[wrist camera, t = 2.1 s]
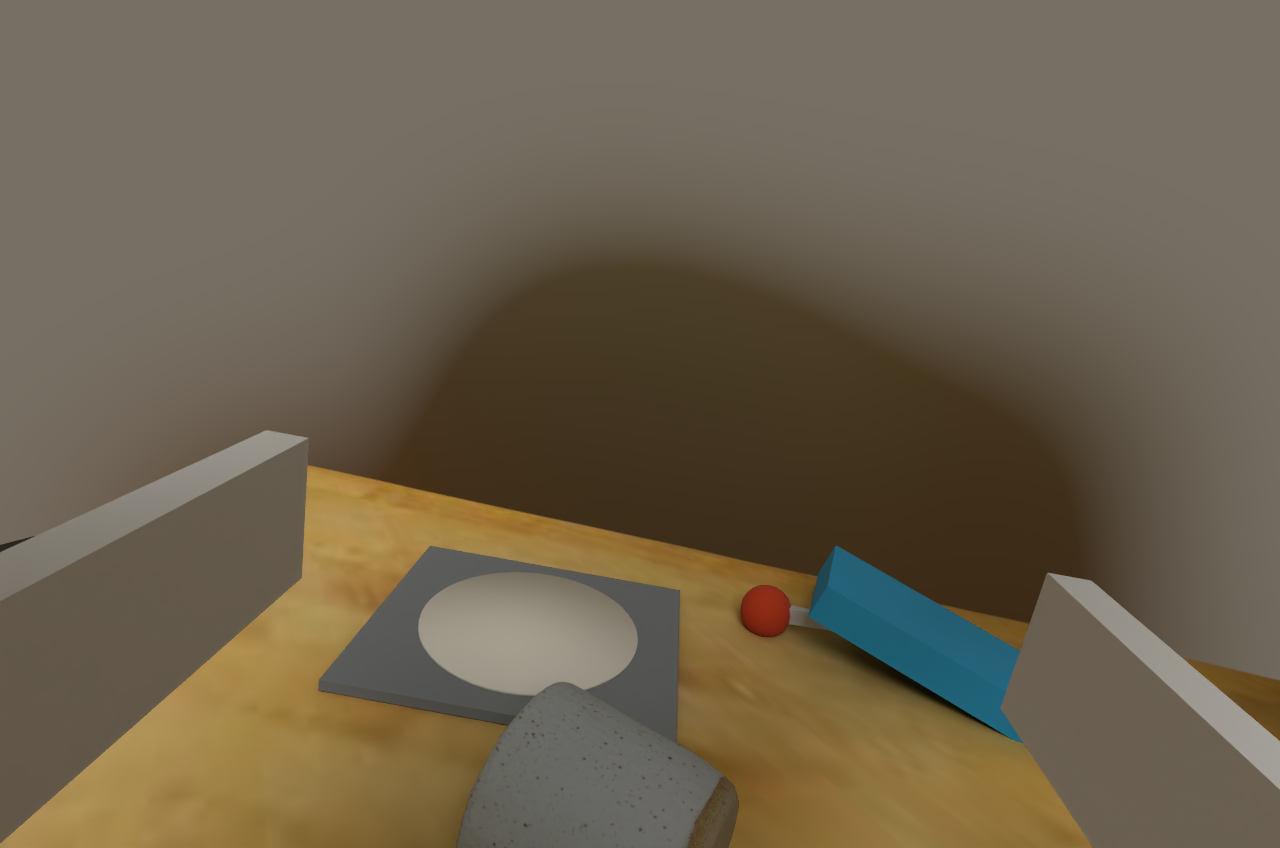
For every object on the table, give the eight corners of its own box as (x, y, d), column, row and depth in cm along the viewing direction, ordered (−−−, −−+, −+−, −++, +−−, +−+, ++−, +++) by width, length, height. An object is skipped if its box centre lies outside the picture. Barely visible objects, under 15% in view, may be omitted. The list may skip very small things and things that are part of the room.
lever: (974, 736, 49) (742, 595, 53) (1035, 659, 47) (788, 517, 50) (986, 805, 43) (721, 640, 46) (1057, 721, 40) (773, 554, 44)
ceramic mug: (648, 1064, 22) (694, 864, 20) (440, 928, 25) (463, 743, 24) (747, 836, 32) (785, 685, 30) (586, 757, 35) (612, 615, 33)
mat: (678, 597, 51) (680, 587, 51) (674, 755, 36) (676, 742, 35) (429, 553, 51) (430, 543, 51) (318, 690, 36) (319, 676, 36)
